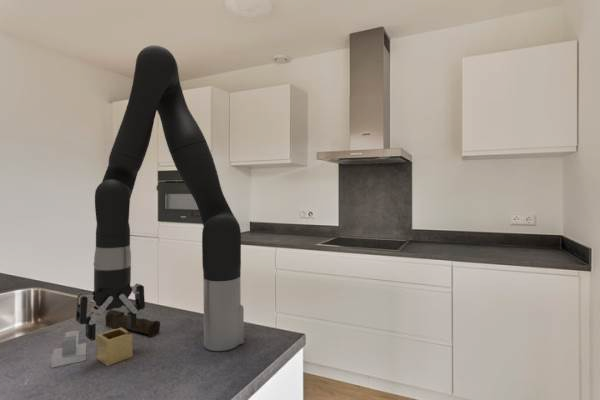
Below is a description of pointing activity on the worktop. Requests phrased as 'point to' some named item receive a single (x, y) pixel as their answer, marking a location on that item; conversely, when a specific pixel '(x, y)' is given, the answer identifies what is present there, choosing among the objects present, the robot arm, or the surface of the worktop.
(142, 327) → the hand tool
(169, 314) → the worktop surface
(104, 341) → the tan open-top container
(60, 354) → the clear stepped bracket
